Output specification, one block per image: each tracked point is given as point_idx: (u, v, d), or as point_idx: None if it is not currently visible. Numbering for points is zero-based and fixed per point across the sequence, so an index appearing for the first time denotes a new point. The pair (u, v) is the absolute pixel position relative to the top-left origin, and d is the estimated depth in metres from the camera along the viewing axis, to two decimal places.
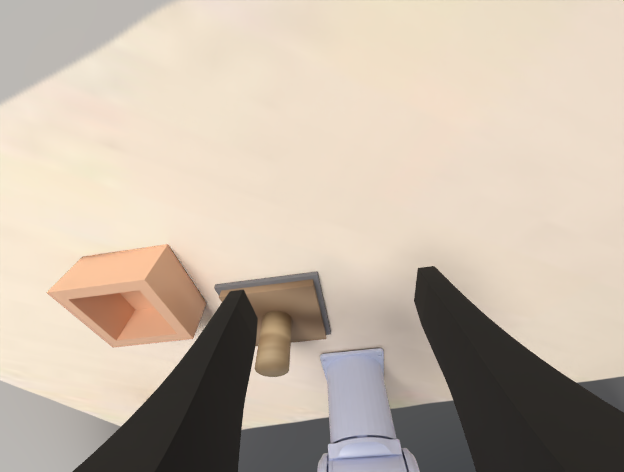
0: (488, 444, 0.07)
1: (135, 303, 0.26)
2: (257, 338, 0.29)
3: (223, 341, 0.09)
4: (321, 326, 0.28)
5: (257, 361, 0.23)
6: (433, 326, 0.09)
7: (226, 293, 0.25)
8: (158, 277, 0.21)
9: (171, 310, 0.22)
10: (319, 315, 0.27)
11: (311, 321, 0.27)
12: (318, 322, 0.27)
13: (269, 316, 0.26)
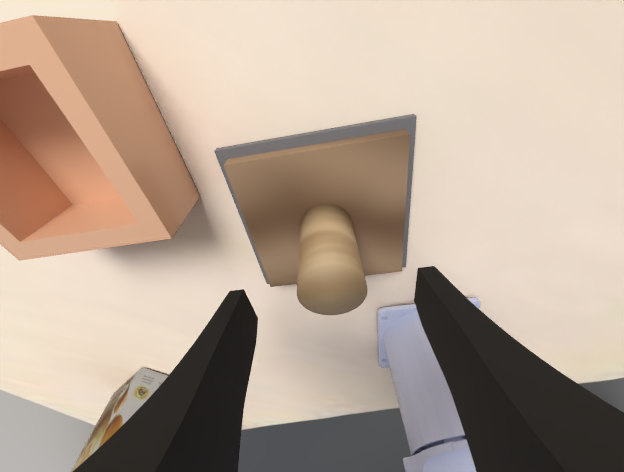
0: (488, 444, 0.07)
1: (70, 188, 0.14)
2: (286, 269, 0.17)
3: (223, 341, 0.09)
4: (400, 243, 0.16)
5: (303, 275, 0.11)
6: (433, 326, 0.09)
7: (237, 160, 0.13)
8: (84, 55, 0.09)
9: (119, 150, 0.10)
10: (403, 216, 0.15)
11: (385, 230, 0.15)
12: (397, 233, 0.16)
13: (316, 211, 0.14)
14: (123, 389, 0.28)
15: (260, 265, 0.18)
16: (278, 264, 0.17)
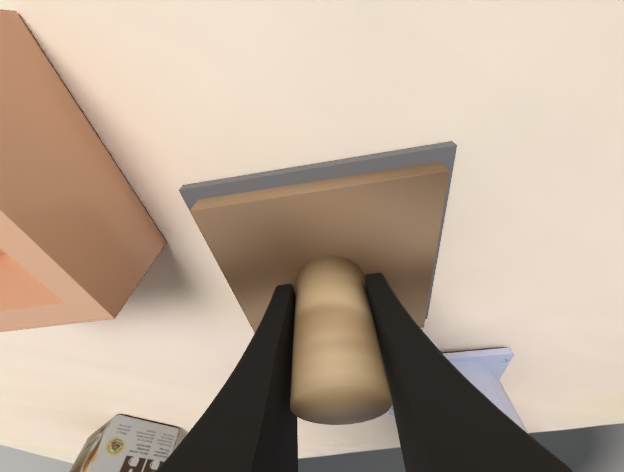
0: (408, 449, 0.07)
1: None
2: None
3: (282, 335, 0.09)
4: (424, 298, 0.13)
5: (299, 385, 0.07)
6: None
7: (210, 203, 0.10)
8: None
9: (10, 212, 0.06)
10: (430, 269, 0.11)
11: (406, 285, 0.12)
12: (421, 288, 0.12)
13: (317, 267, 0.10)
14: (96, 438, 0.24)
15: None
16: None
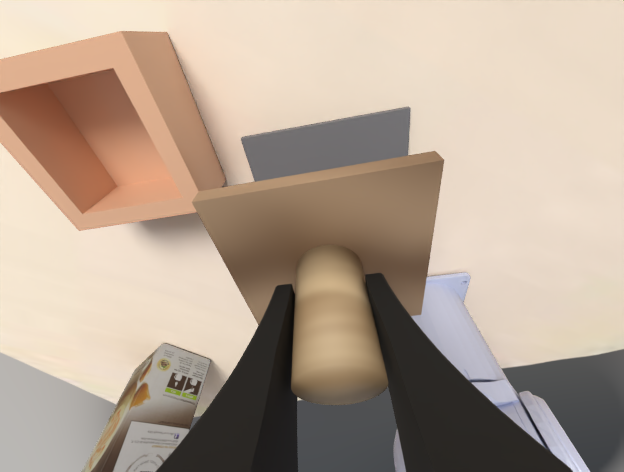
0: (408, 449, 0.07)
1: (116, 172, 0.17)
2: None
3: (282, 335, 0.09)
4: (421, 286, 0.13)
5: (299, 366, 0.08)
6: None
7: (211, 194, 0.10)
8: (149, 60, 0.11)
9: (173, 135, 0.12)
10: (427, 257, 0.12)
11: (403, 273, 0.12)
12: (418, 276, 0.12)
13: (316, 256, 0.11)
14: (146, 363, 0.30)
15: None
16: None
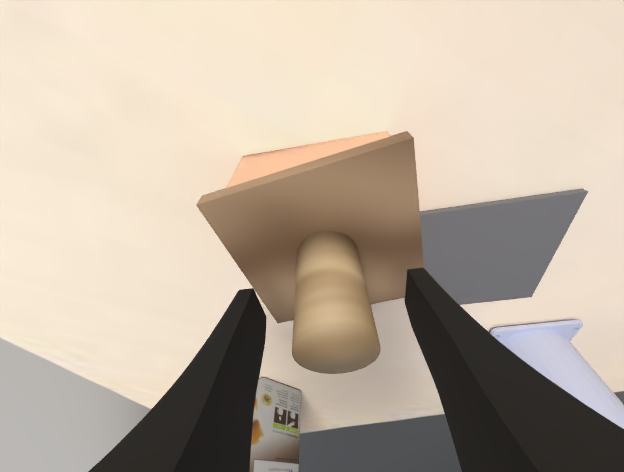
0: (472, 445, 0.07)
1: None
2: (291, 304, 0.15)
3: (235, 340, 0.09)
4: (420, 263, 0.13)
5: (297, 335, 0.09)
6: (422, 327, 0.09)
7: (212, 196, 0.11)
8: None
9: None
10: (418, 233, 0.12)
11: (399, 251, 0.13)
12: (414, 253, 0.13)
13: (311, 242, 0.12)
14: None
15: None
16: (281, 300, 0.15)
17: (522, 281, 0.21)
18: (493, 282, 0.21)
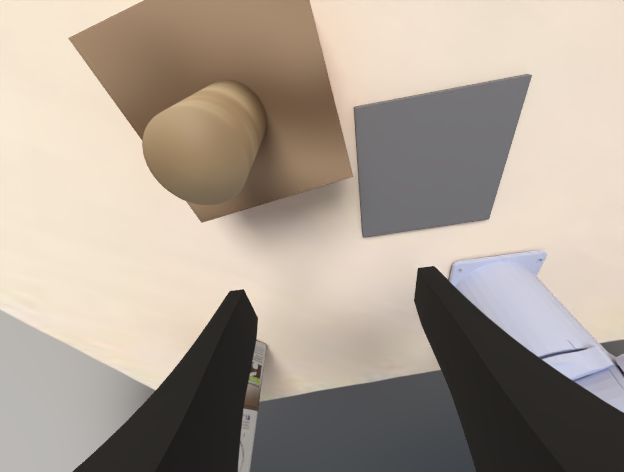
0: (488, 444, 0.07)
1: None
2: None
3: (223, 341, 0.09)
4: (337, 131, 0.12)
5: None
6: (433, 326, 0.09)
7: None
8: None
9: None
10: (327, 84, 0.11)
11: (311, 113, 0.12)
12: (328, 115, 0.12)
13: None
14: None
15: (362, 218, 0.21)
16: None
17: (477, 199, 0.20)
18: (446, 200, 0.20)
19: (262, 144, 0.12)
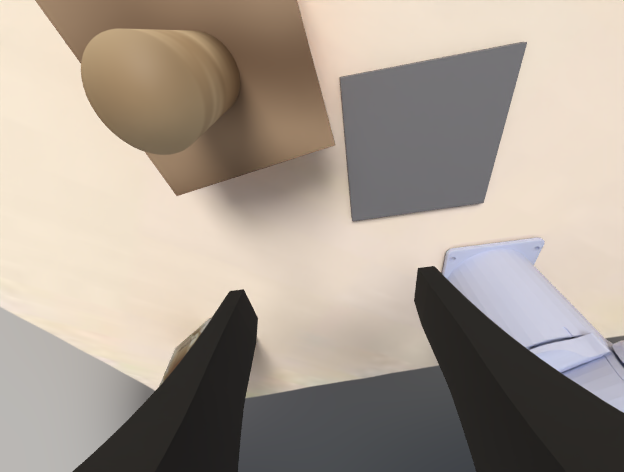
0: (488, 444, 0.07)
1: None
2: (184, 163, 0.13)
3: (223, 341, 0.09)
4: (316, 92, 0.11)
5: None
6: (433, 326, 0.09)
7: None
8: None
9: None
10: (303, 37, 0.10)
11: (287, 70, 0.11)
12: (306, 74, 0.11)
13: None
14: (192, 339, 0.29)
15: (351, 200, 0.20)
16: (170, 156, 0.13)
17: (470, 180, 0.19)
18: (438, 181, 0.19)
19: (236, 106, 0.12)
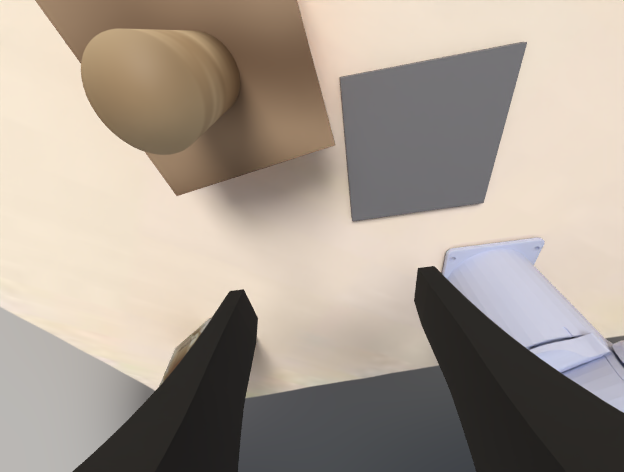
0: (488, 444, 0.07)
1: None
2: (184, 163, 0.13)
3: (223, 341, 0.09)
4: (316, 92, 0.11)
5: None
6: (433, 326, 0.09)
7: None
8: None
9: None
10: (303, 37, 0.10)
11: (287, 70, 0.11)
12: (306, 74, 0.11)
13: None
14: (192, 339, 0.29)
15: (351, 200, 0.20)
16: (170, 156, 0.13)
17: (470, 180, 0.19)
18: (438, 181, 0.19)
19: (236, 106, 0.12)
